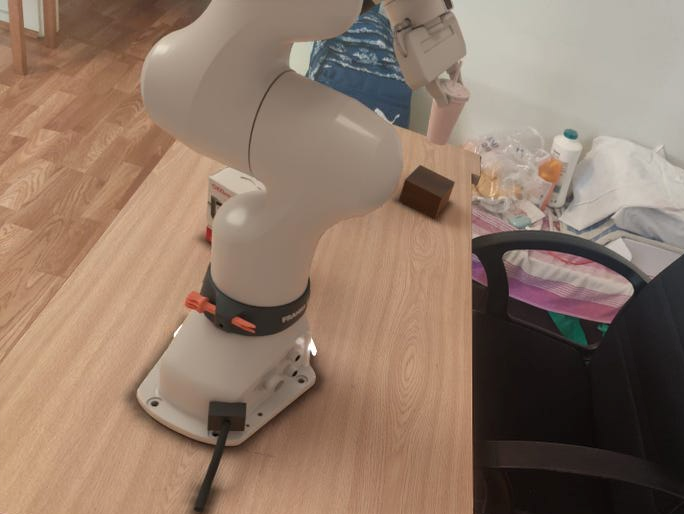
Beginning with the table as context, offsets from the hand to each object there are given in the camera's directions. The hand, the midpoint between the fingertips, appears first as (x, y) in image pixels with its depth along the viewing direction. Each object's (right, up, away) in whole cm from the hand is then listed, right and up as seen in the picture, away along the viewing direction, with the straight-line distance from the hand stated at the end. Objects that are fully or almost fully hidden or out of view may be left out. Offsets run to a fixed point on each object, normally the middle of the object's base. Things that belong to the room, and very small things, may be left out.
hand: (452, 99), depth 103 cm
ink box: (-34, -27, -8) cm, 44 cm away
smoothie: (-3, -5, +5) cm, 8 cm away
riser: (-7, -12, +20) cm, 24 cm away
